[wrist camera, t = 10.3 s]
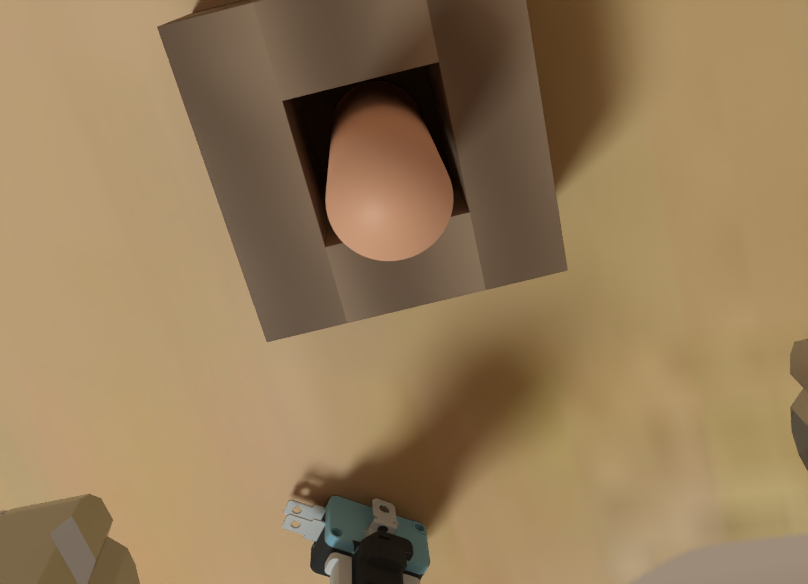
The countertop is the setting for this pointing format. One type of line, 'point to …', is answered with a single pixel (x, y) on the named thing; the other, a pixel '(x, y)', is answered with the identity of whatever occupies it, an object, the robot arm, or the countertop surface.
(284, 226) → the socket block
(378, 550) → the push button
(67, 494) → the countertop surface
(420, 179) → the dowel
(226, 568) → the countertop surface
